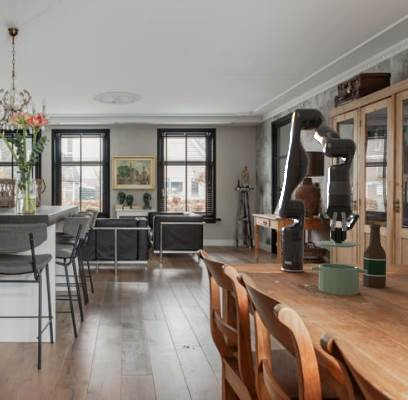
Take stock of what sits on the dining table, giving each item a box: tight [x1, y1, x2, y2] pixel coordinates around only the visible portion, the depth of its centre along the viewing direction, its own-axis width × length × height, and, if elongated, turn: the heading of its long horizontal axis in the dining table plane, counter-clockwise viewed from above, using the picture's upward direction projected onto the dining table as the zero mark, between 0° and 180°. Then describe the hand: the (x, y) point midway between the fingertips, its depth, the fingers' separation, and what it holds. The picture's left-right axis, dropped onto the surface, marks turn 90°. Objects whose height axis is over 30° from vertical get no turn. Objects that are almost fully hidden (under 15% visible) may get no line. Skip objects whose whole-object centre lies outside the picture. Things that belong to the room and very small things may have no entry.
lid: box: [317, 227, 361, 249], centre depth 159 cm, size 14×14×7 cm
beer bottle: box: [362, 223, 387, 289], centre depth 170 cm, size 8×8×24 cm
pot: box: [310, 263, 367, 296], centre depth 159 cm, size 13×18×10 cm
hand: (338, 240), depth 159 cm, fingers closed on lid, 2 cm apart
